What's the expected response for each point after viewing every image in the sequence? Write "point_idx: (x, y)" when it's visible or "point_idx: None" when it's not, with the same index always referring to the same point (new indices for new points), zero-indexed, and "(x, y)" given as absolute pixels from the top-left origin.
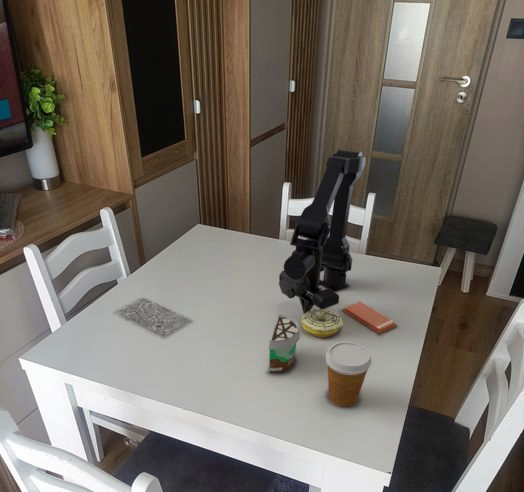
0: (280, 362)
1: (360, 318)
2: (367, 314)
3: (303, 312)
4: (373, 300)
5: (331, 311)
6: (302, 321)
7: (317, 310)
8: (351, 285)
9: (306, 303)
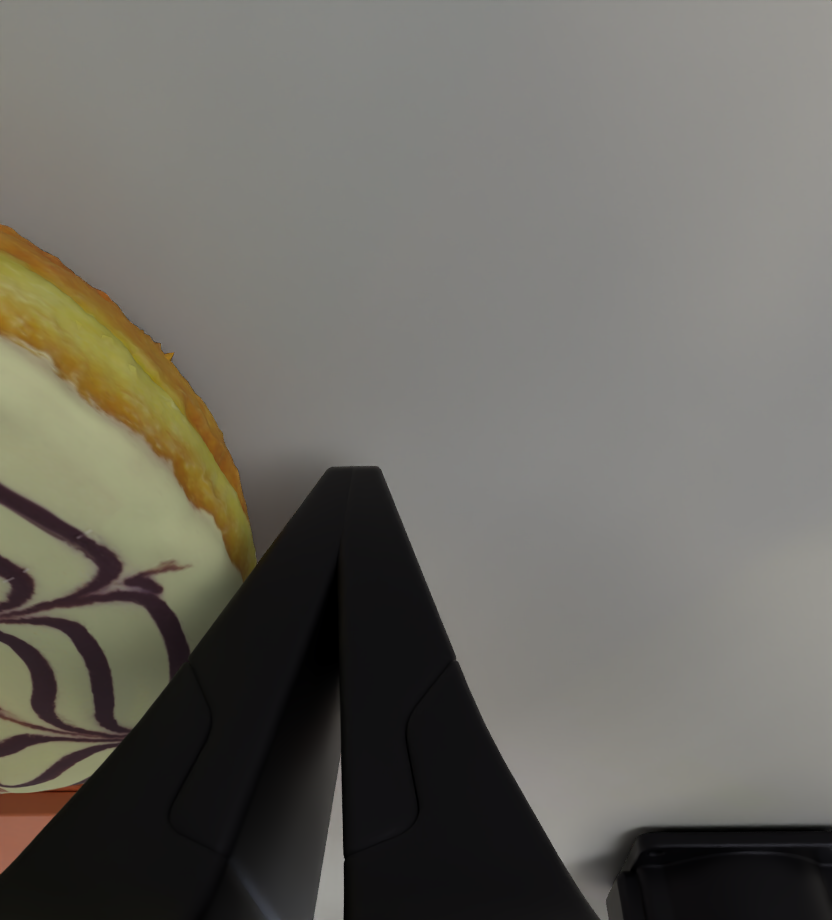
0: None
1: (10, 802)
2: None
3: (381, 485)
4: (320, 892)
5: (2, 792)
6: None
7: (92, 701)
8: (601, 899)
9: (108, 799)
